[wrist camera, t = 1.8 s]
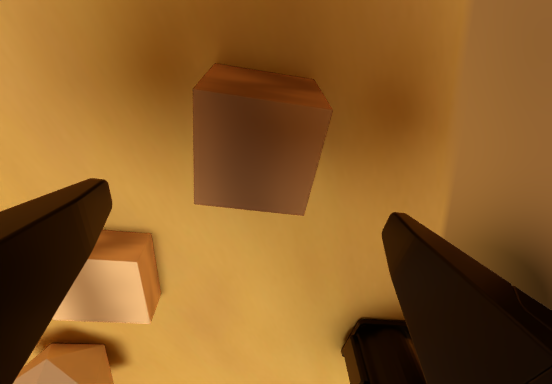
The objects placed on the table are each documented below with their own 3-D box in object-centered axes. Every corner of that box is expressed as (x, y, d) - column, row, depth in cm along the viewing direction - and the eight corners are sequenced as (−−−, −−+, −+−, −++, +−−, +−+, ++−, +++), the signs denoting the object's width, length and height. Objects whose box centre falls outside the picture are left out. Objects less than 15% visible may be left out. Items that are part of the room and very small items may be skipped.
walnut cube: (313, 79, 14) (332, 110, 10) (294, 164, 17) (303, 215, 13) (215, 63, 14) (192, 88, 10) (212, 153, 16) (194, 204, 12)
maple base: (152, 230, 20) (137, 262, 18) (162, 290, 24) (150, 323, 21) (48, 222, 19) (17, 254, 17) (75, 286, 23) (53, 320, 21)
